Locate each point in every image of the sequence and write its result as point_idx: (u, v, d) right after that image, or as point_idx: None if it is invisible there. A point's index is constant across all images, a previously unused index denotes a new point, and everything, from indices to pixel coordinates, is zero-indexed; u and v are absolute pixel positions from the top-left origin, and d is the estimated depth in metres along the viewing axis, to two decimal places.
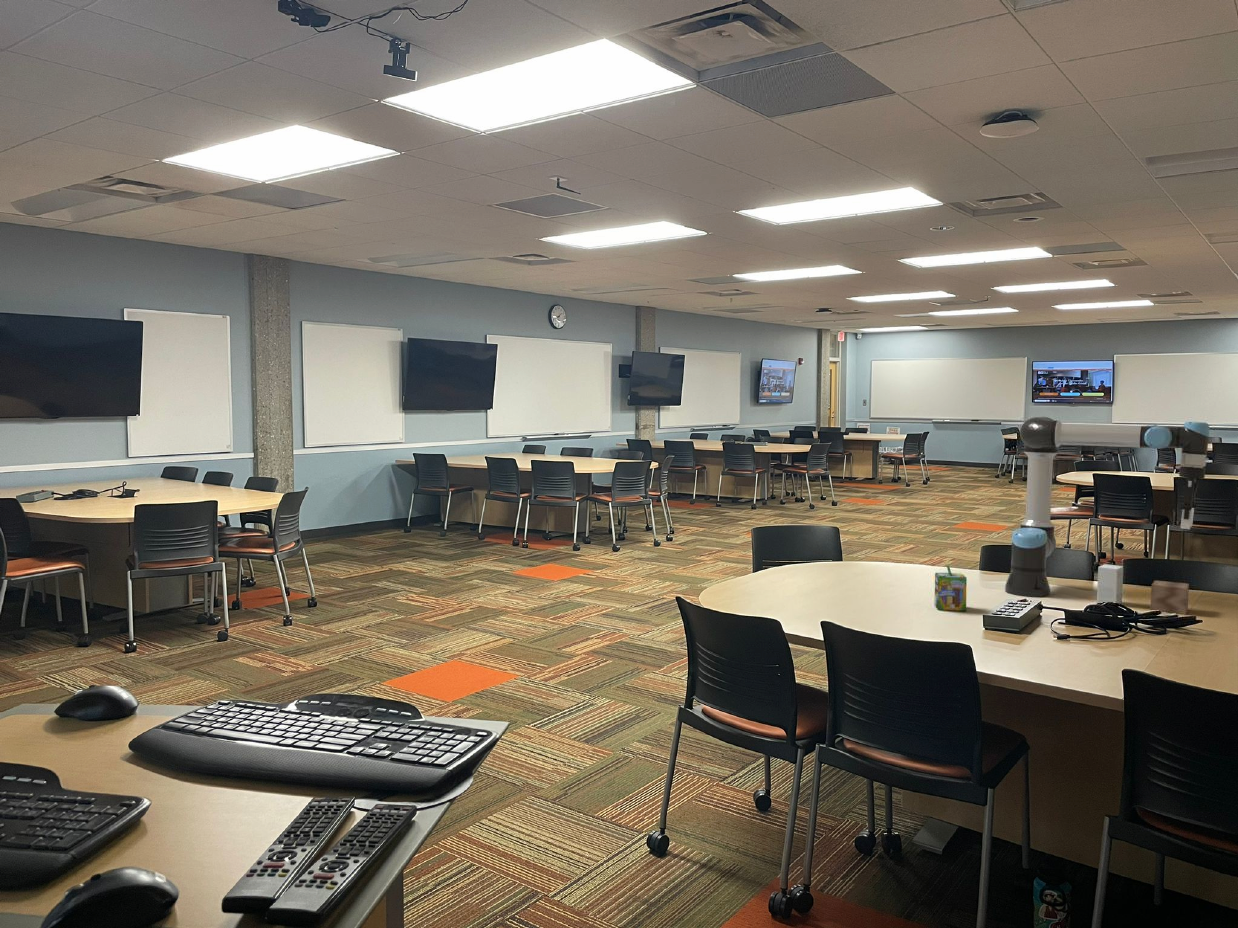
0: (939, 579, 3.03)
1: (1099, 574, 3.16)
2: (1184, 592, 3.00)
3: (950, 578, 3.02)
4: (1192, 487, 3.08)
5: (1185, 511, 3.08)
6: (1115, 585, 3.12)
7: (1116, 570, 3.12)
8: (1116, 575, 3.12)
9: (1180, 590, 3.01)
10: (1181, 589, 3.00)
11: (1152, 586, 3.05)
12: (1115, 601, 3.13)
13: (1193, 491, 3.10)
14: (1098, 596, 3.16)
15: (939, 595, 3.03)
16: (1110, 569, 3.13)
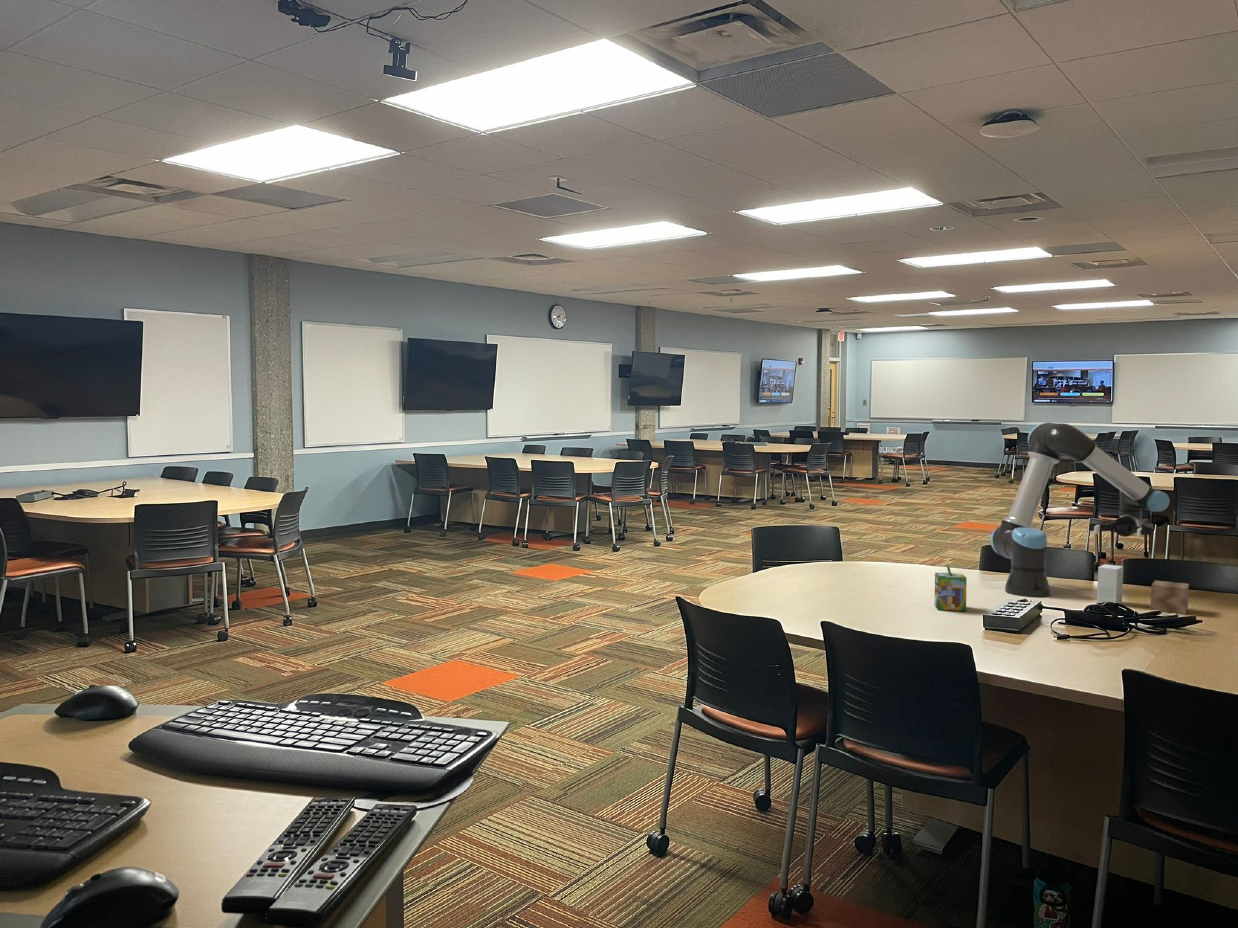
0: (939, 579, 3.03)
1: (1099, 574, 3.16)
2: (1184, 592, 3.00)
3: (950, 578, 3.02)
4: None
5: (1145, 530, 3.23)
6: (1115, 585, 3.12)
7: (1116, 570, 3.12)
8: (1116, 575, 3.12)
9: (1180, 590, 3.01)
10: (1181, 589, 3.00)
11: (1152, 586, 3.05)
12: (1115, 601, 3.13)
13: None
14: (1098, 596, 3.16)
15: (939, 595, 3.03)
16: (1110, 569, 3.13)
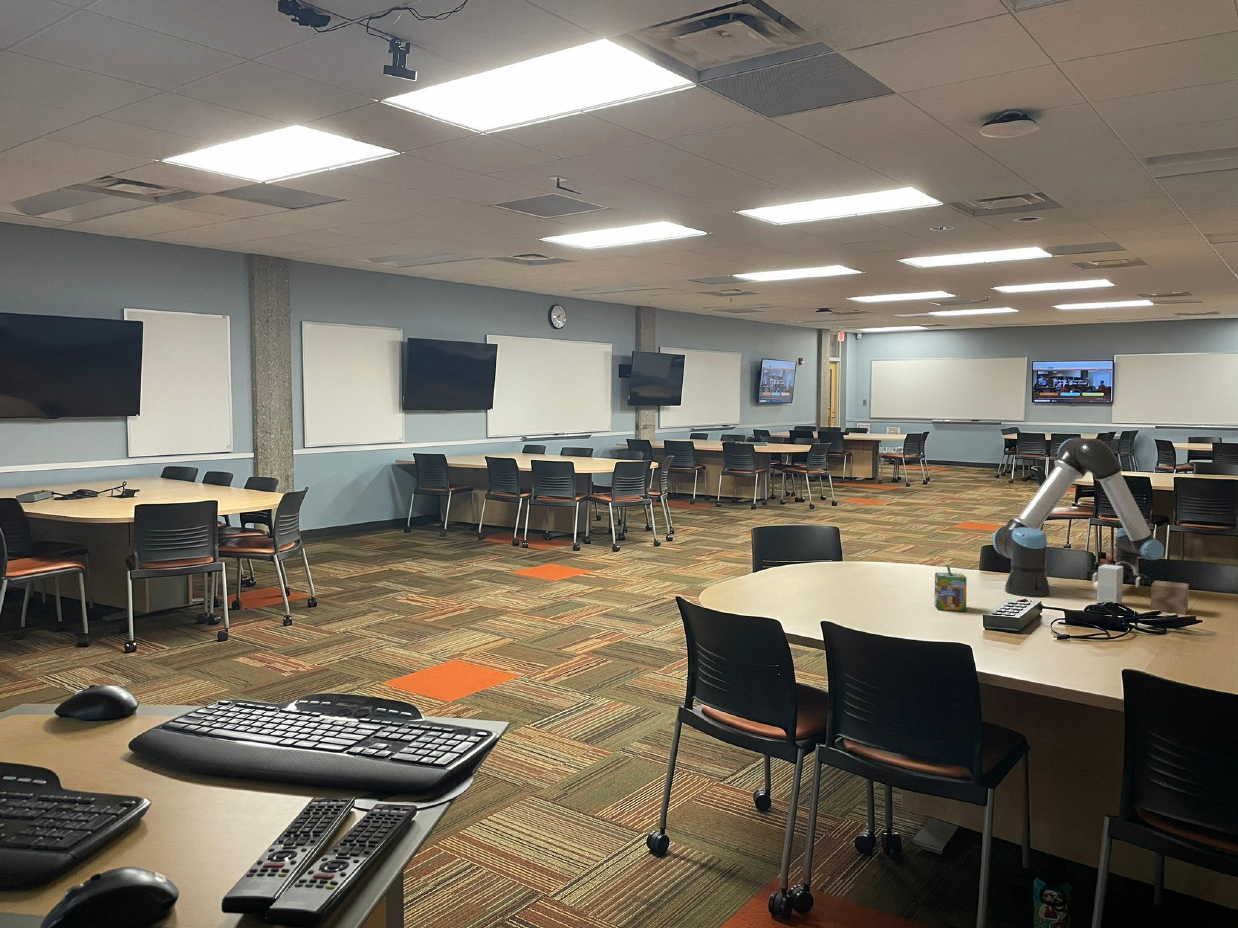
0: (939, 579, 3.03)
1: (1099, 574, 3.16)
2: (1184, 592, 3.00)
3: (950, 578, 3.02)
4: None
5: (1143, 580, 3.22)
6: (1115, 585, 3.13)
7: (1116, 570, 3.12)
8: (1116, 575, 3.12)
9: (1180, 590, 3.01)
10: (1181, 589, 3.00)
11: (1152, 586, 3.05)
12: (1115, 601, 3.13)
13: None
14: (1098, 596, 3.16)
15: (939, 595, 3.03)
16: (1110, 569, 3.13)
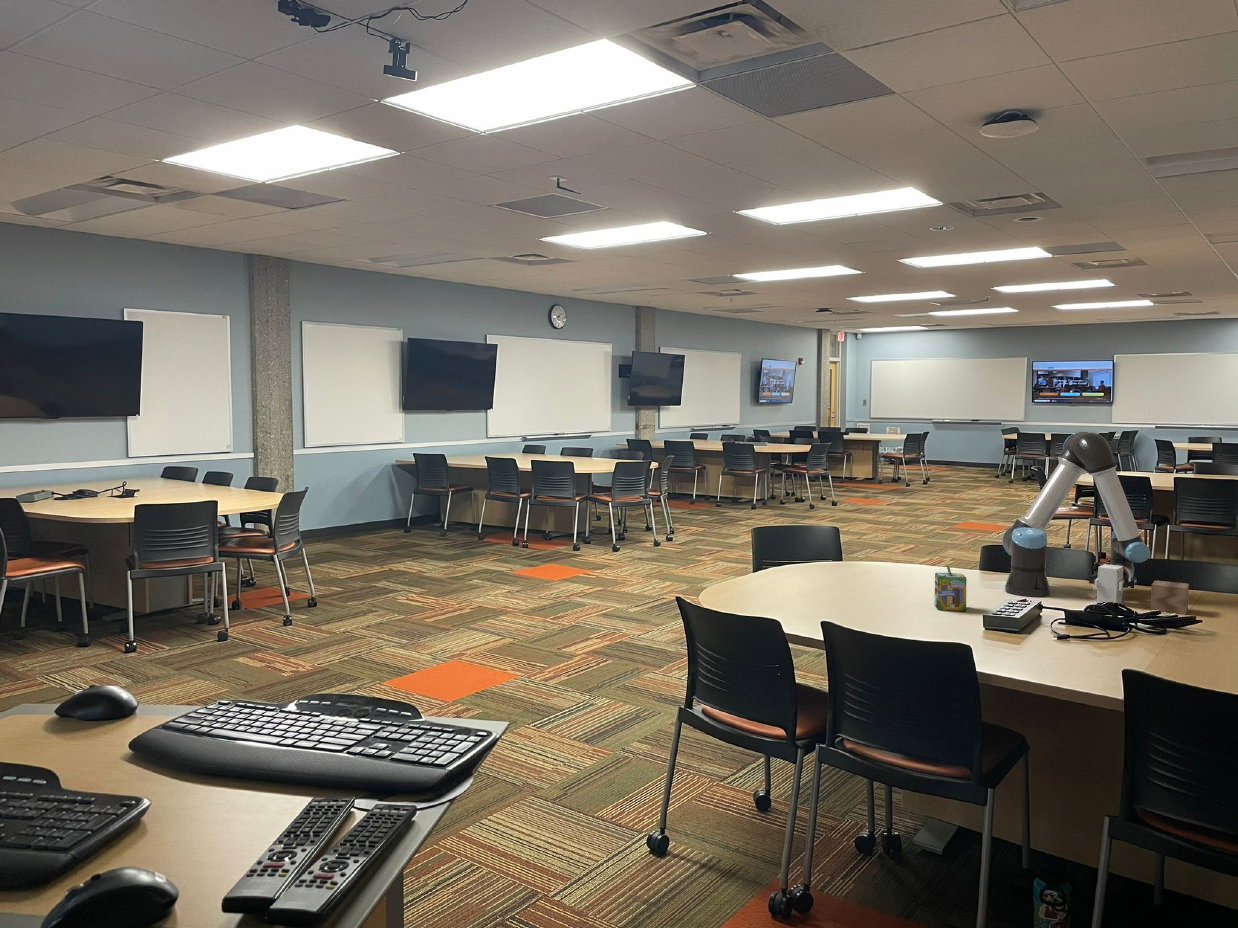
0: (939, 579, 3.03)
1: (1099, 574, 3.16)
2: (1184, 592, 3.00)
3: (950, 578, 3.02)
4: (1134, 583, 3.21)
5: (1127, 583, 3.15)
6: (1115, 585, 3.12)
7: (1116, 570, 3.12)
8: (1116, 575, 3.12)
9: (1180, 590, 3.01)
10: (1181, 589, 3.00)
11: (1152, 586, 3.05)
12: (1115, 601, 3.13)
13: None
14: (1098, 596, 3.16)
15: (939, 595, 3.03)
16: (1110, 569, 3.13)
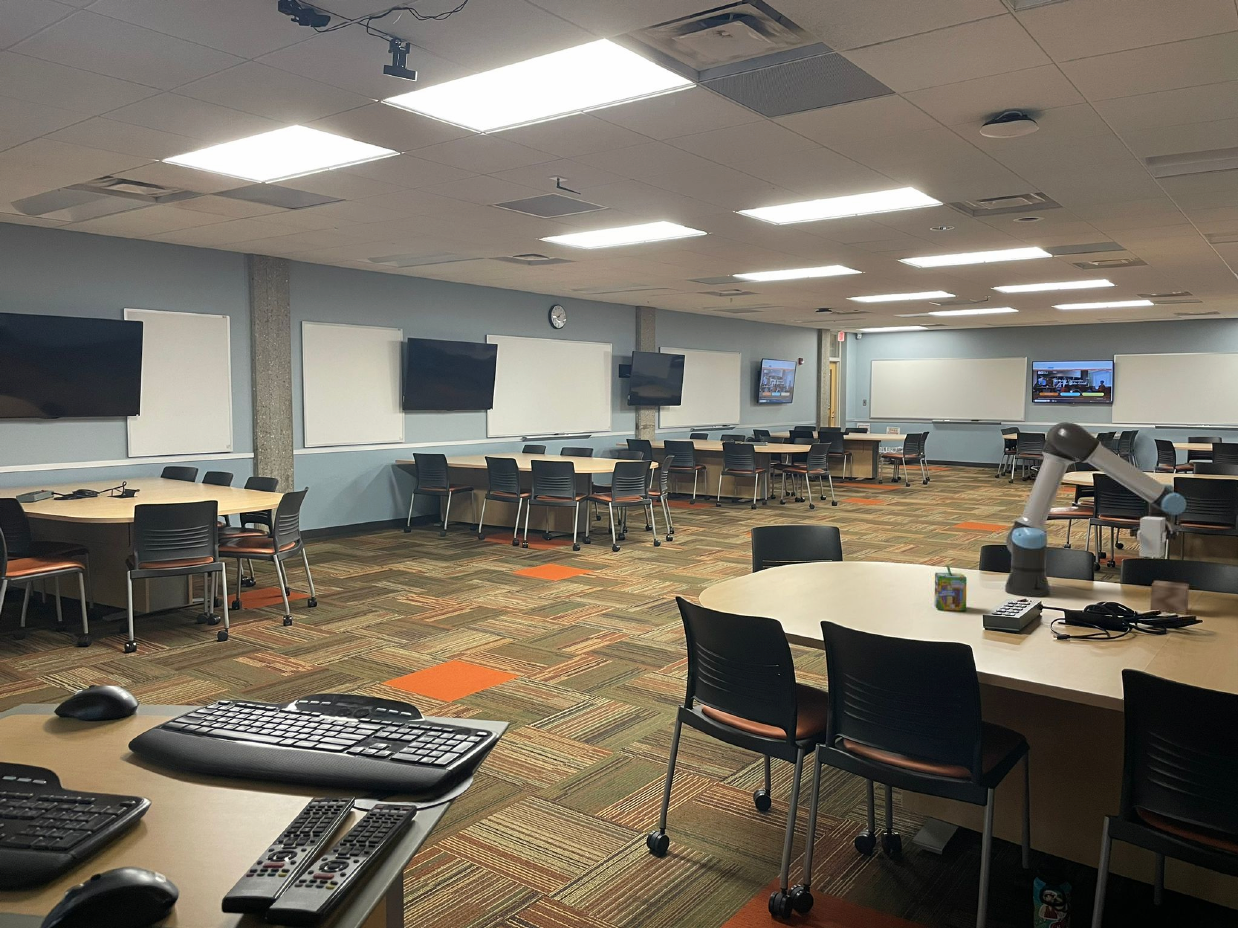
0: (939, 579, 3.03)
1: (1141, 526, 3.08)
2: (1184, 592, 3.00)
3: (950, 578, 3.02)
4: None
5: (1170, 535, 3.07)
6: (1158, 536, 3.05)
7: (1159, 521, 3.05)
8: (1159, 526, 3.05)
9: (1180, 590, 3.01)
10: (1181, 589, 3.00)
11: (1152, 586, 3.05)
12: (1159, 552, 3.05)
13: None
14: (1140, 548, 3.09)
15: (939, 595, 3.03)
16: (1153, 520, 3.06)
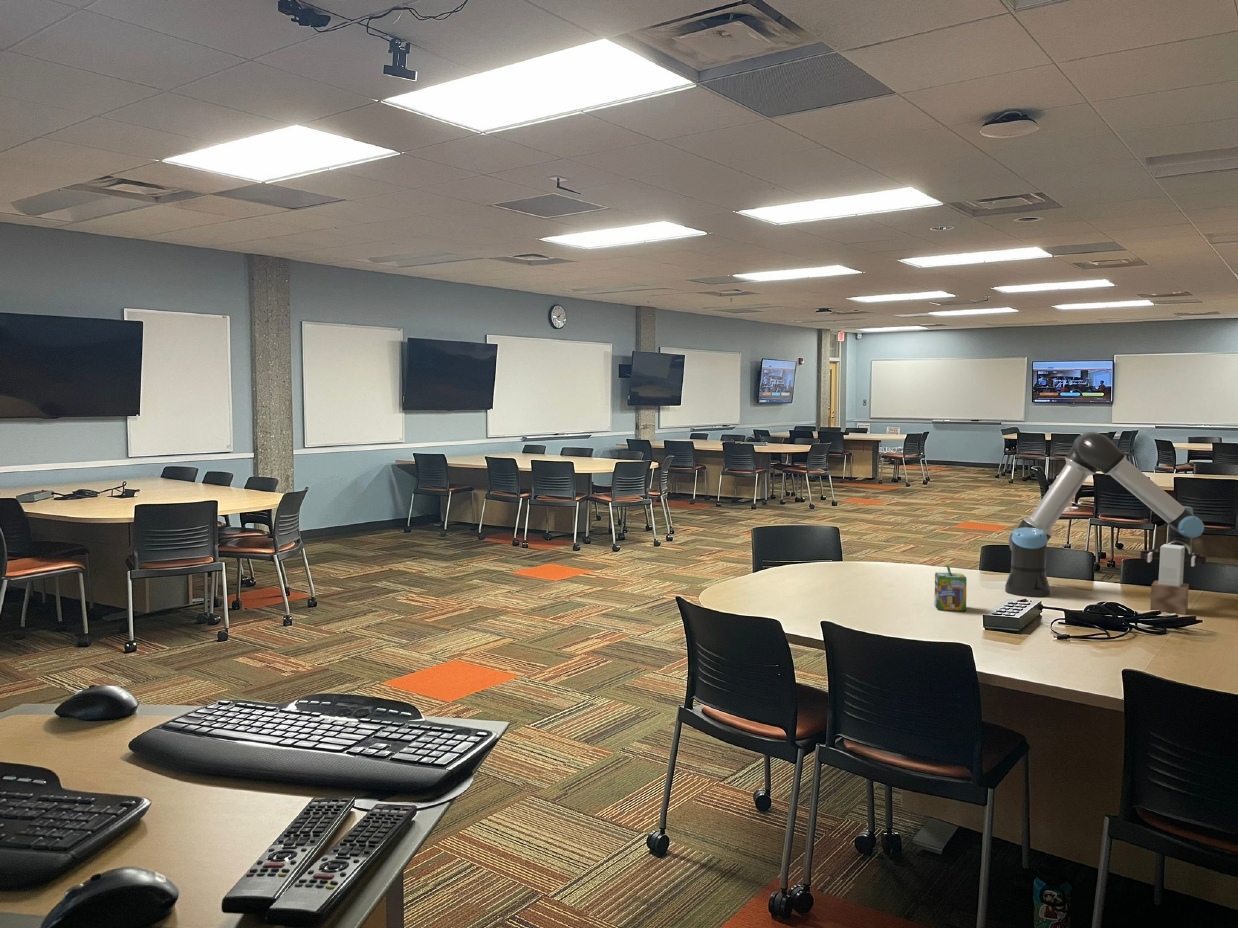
0: (939, 579, 3.03)
1: (1161, 554, 3.04)
2: (1184, 592, 3.00)
3: (950, 578, 3.02)
4: None
5: (1199, 559, 3.03)
6: (1179, 565, 3.01)
7: (1180, 550, 3.01)
8: (1180, 555, 3.01)
9: (1180, 590, 3.01)
10: (1181, 589, 3.00)
11: (1152, 586, 3.05)
12: (1179, 581, 3.01)
13: None
14: (1160, 577, 3.05)
15: (939, 595, 3.03)
16: (1173, 549, 3.02)
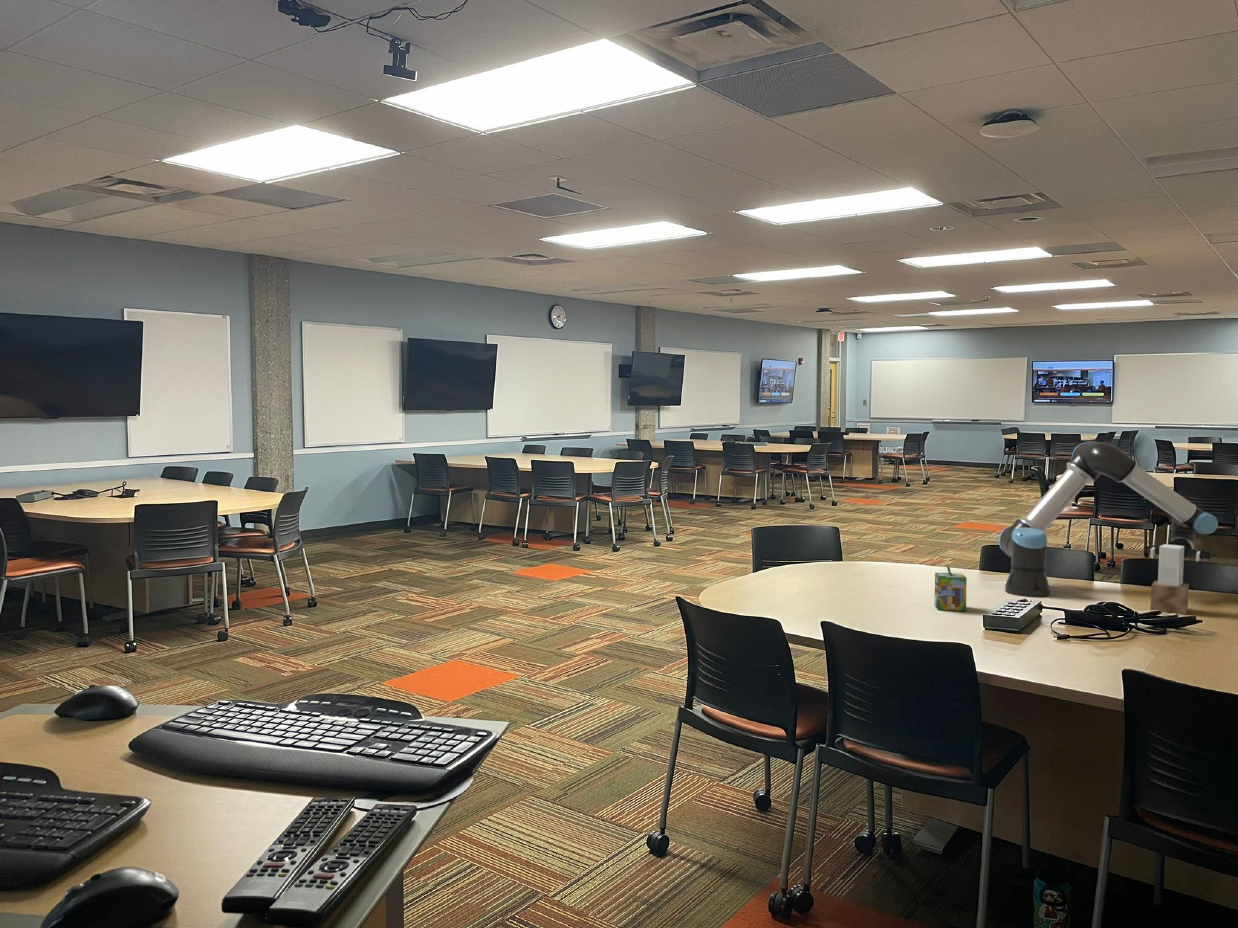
0: (939, 579, 3.03)
1: (1160, 554, 3.05)
2: (1184, 592, 3.00)
3: (950, 578, 3.02)
4: None
5: (1204, 554, 3.13)
6: (1178, 565, 3.01)
7: (1179, 550, 3.01)
8: (1179, 555, 3.01)
9: (1180, 590, 3.01)
10: (1181, 589, 3.00)
11: (1152, 586, 3.05)
12: (1178, 581, 3.02)
13: None
14: (1159, 577, 3.05)
15: (939, 595, 3.03)
16: (1172, 549, 3.02)
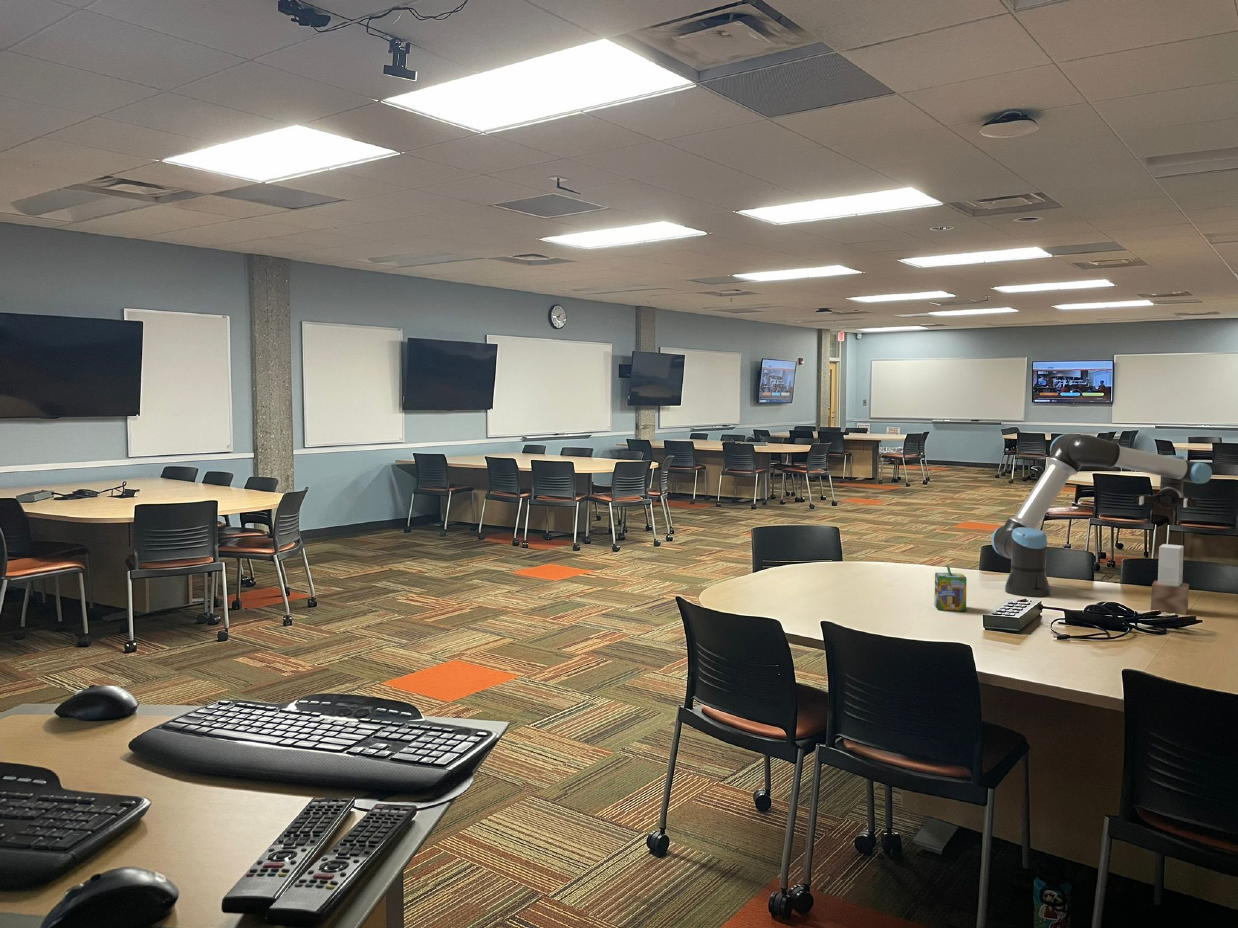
0: (939, 579, 3.03)
1: (1160, 554, 3.04)
2: (1184, 592, 3.00)
3: (950, 578, 3.02)
4: None
5: (1191, 501, 3.22)
6: (1177, 565, 3.01)
7: (1179, 549, 3.01)
8: (1179, 555, 3.01)
9: (1180, 590, 3.00)
10: (1181, 589, 3.00)
11: (1152, 586, 3.05)
12: (1178, 581, 3.02)
13: None
14: (1159, 577, 3.05)
15: (939, 595, 3.03)
16: (1172, 549, 3.02)
